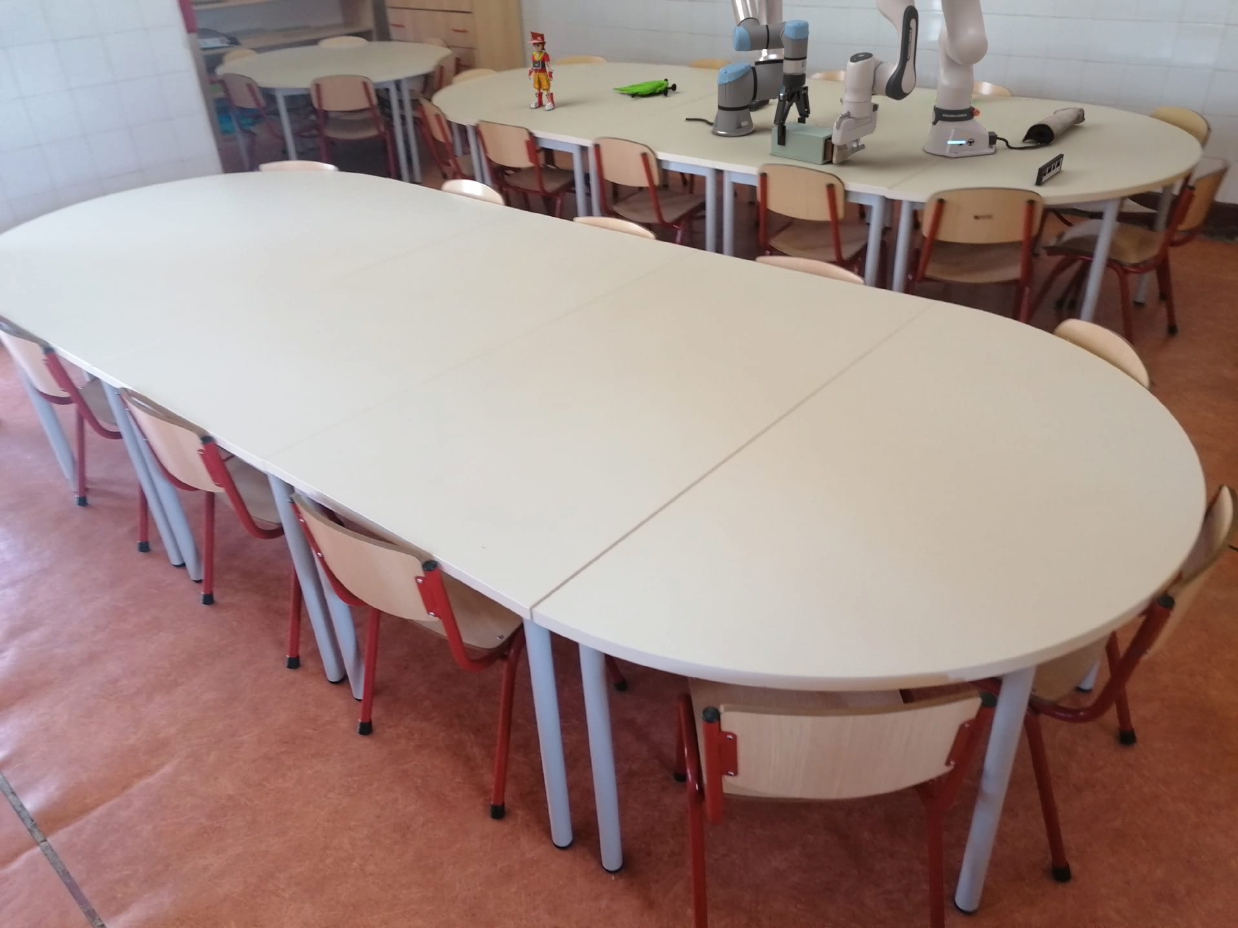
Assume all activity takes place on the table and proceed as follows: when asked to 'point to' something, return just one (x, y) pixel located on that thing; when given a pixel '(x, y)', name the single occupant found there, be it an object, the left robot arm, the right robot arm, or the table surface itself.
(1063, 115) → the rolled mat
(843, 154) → the drawer
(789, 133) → the cabinet
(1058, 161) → the midi keyboard
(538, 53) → the toy
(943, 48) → the right robot arm
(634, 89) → the toy
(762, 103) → the disk drive
